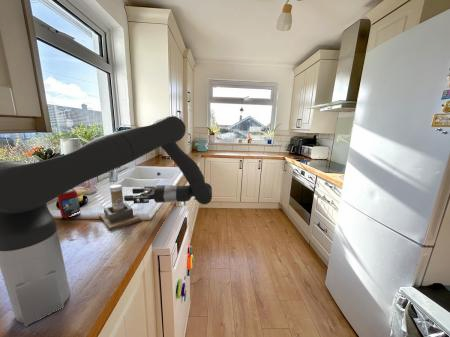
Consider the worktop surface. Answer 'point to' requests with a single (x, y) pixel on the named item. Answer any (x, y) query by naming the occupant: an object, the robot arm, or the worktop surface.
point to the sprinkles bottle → (117, 198)
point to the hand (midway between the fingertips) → (128, 194)
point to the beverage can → (68, 203)
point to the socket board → (119, 217)
